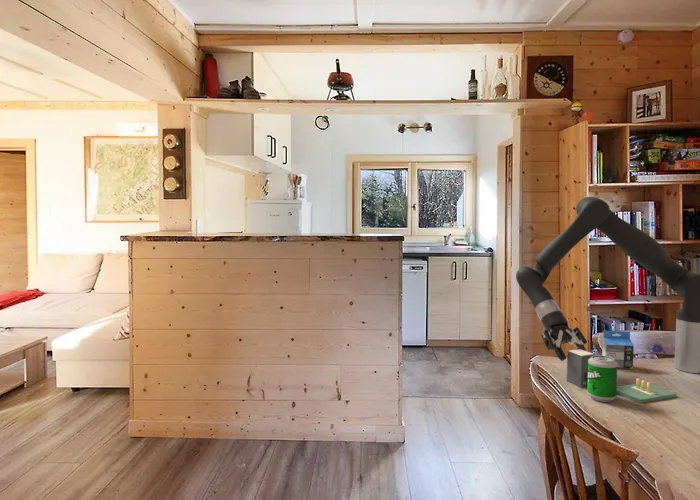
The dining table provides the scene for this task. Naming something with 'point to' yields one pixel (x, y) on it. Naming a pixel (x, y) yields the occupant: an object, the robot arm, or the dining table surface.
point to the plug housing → (578, 367)
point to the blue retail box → (618, 348)
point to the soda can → (602, 378)
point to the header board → (644, 392)
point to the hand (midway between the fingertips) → (574, 358)
